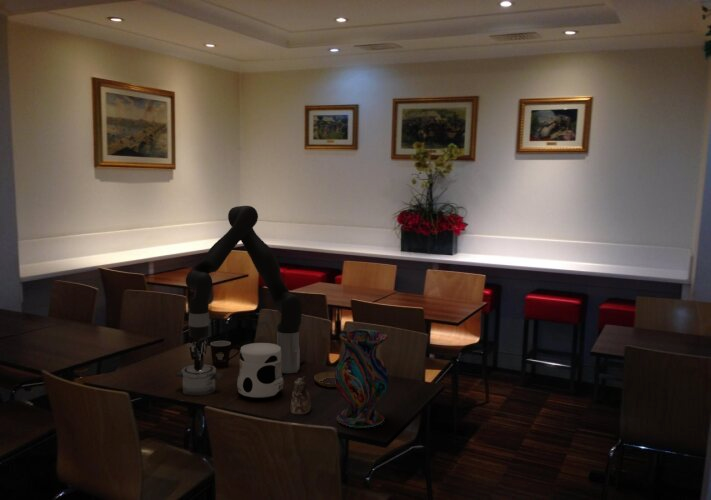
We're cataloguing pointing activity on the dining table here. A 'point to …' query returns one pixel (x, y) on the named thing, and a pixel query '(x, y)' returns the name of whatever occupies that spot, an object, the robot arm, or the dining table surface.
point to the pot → (199, 381)
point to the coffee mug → (221, 353)
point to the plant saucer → (323, 376)
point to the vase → (361, 377)
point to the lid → (202, 369)
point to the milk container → (260, 371)
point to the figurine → (300, 397)
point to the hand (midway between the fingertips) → (198, 367)
